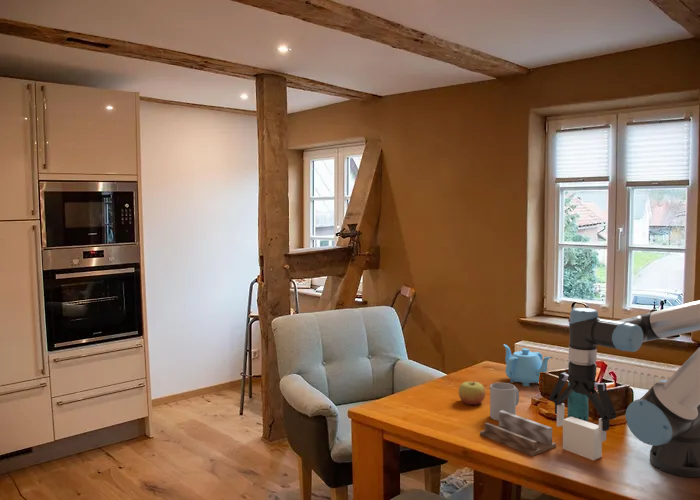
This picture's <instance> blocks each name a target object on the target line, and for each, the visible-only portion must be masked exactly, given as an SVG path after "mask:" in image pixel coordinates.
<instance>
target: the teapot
mask: <svg viewBox="0 0 700 500" xmlns="http://www.w3.org/2000/svg"><path fill="white" fill-rule="evenodd" d="M503 347H504V349H505V359H504V361H505V374H506V377H507V378H509V379H510V381H509V382H510V383H512V382H516V383H517V382H518V383H522V387H524V386H529V387H530V384H531V383H533V384H535V383H538V382H539V375H540V372H546V373H547V371H548V361H549V360H550V359H551V358H552V356H544V357H543V354H542V353H541V352H539V351H534V352H533V351H530V348H521V350H519V351H515V352H513V353H512V350H511V348H510V347H509V346H508V345H507V344H505V343H504V344H503Z"/></svg>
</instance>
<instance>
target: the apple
mask: <svg viewBox="0 0 700 500" xmlns="http://www.w3.org/2000/svg"><path fill="white" fill-rule="evenodd" d="M458 396H459V399H460V400H461V401H462V402H463V403H464V404H466V405H471V406H472V405H473V406H475V405H479V404H481V403H482V402H483V401H484V400H485V398H486V389H485V386H484V385H483V384H482V383H480V382H478V381H472V380H471V381H464V382H463V383H461V384H460V386H459V388H458Z"/></svg>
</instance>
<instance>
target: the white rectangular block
mask: <svg viewBox="0 0 700 500" xmlns="http://www.w3.org/2000/svg"><path fill="white" fill-rule="evenodd" d="M598 430H599V424H595V423H593V422H590V421H588V422H587V421H584V420H581V419H577V418H574V417H568V416H567V417H566V418H565V417H564V419H563V426H562V449H563V450H564V451H568V452H570V453H573V454H575V455H578V456H581V457H583V458H586V459H589V460H591V461H595V460H599V459H600V458H602V454H603V453H602V451H603V442H598Z"/></svg>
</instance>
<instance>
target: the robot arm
mask: <svg viewBox="0 0 700 500" xmlns="http://www.w3.org/2000/svg"><path fill="white" fill-rule="evenodd" d="M568 322H569V323H568V324H569V325H568V326H569V328H568V329H569V338H568V339H569V341H568V342H569V344H568V360H569V361H568V367H567V368H568V370H567V371H568V372H566V371H565V372H561V373H559V374H558V379H557V381H556V383H555V386H554V388H553V389H552V391H551V393H550V395H549V397H548V399H549V401H552V402H553V403H554V414H555V415H556V427H558V428H560V427H563V419H565V410H566V409H565V408H566V407H565V405H566V404H565V403H564V401H565V400H566V399H568V398H567V397H568V396H569V395H570V394H571V393H572V392H573V391H575V392H576V393H580V394H582V395H586V396H587V397H588V400H590V402H591V403H592V405H593V407H594V409H596V412H597V413H598V416H600V418H598V425H599V430H598V442H602V443H603V442H605V441H607V431H609V429H610V421H611V420H614V419H616V418H617V417H618V416H617V413H616V411H615V409H614V405H613V404H612V401H611V399H610V396H609V393H608V391H607V384H606V383H605V382H601V383H600V382H597V380H596V377H597V363H596V362H597V359H598V358H597V355H598V353H597V352H598V346H601V347H605V348H610V349H615V350H619V351H621V352H631V353H633V352H634V353H635V352H637V351H639V349H640V348H641V347H642V345H643V343H645V342H650V341H654V340H659V339H662V338H667V337H673V336H677V335H682V334H688V333H692V332H693V333H694V332H698V331H700V299H699V300H695V301H691V302H690V301H689V302H687V303H683V304H680V305H675V306H671V307H668V308H664V309H660V310H655V311H651V312H647V313H642V314H638V315H636V316H631V317H628V318H627V317H626V318H623V319H619V320H618V319H617V320H612V319H605V318H602V317H599V312H598V310H597V309H593V308H589V307H575V308H573V309H571V310H570V313H569V321H568ZM566 382H568V383H570V385H569V386H568V385H567V387H566V389H565V390H564V391H562V390H563V389H564V387H565V384H566ZM561 391H562V393H561ZM625 420H626V424H627V427H628V429H629V431H630V432H631V434H633V436H634V437H635V438H636V439H637V440H638V441H640V442H642V443H643V444H646V445H650V446H651V448H650V451H649V462H650V463H651V465H652V466H654V467H655V468H657V469H659V470H661V471H662V472H665V473H667V474H668V473H669V474H672V475H675V476H680V477H685V478H687V477H688V478H700V346H699V347H698V348H697V349H696V350H695V352H693V354H691V355H690V356H689V358H687V360H685V361H684V363H683V364H682V365H681V366H680V367H679V368H678V369H677V370H676V371H675V372H674V373H673V374H672V375H671V376H670V377H669V378H668V379H661V380H659V381H657V382H655V383H654V384H653V385H652V386H651V387H650V388H649V390H647V392H645V394H643V396H641V398H639V399H635V400H633V401H632V402H631V403H630V404H629V405H628V406H627V408H626V410H625Z"/></svg>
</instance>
